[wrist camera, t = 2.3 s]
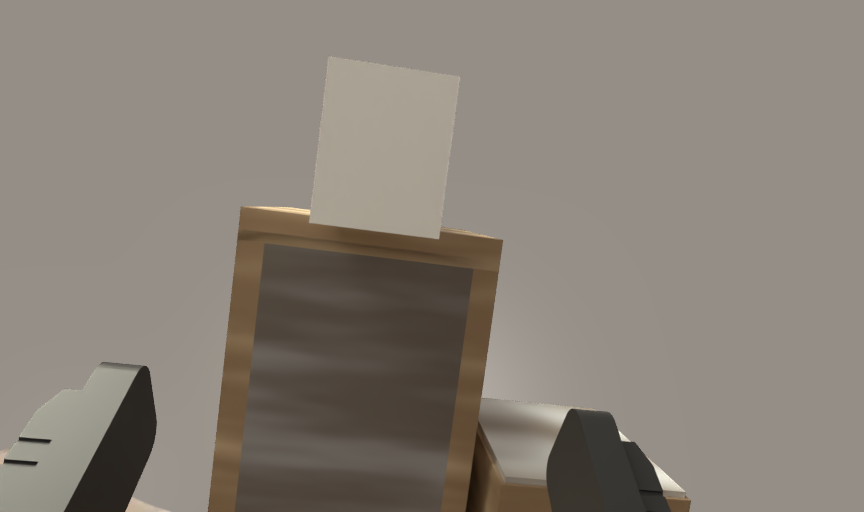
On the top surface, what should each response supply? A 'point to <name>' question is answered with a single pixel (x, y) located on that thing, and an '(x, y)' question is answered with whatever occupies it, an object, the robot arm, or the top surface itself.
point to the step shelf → (371, 378)
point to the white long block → (383, 148)
